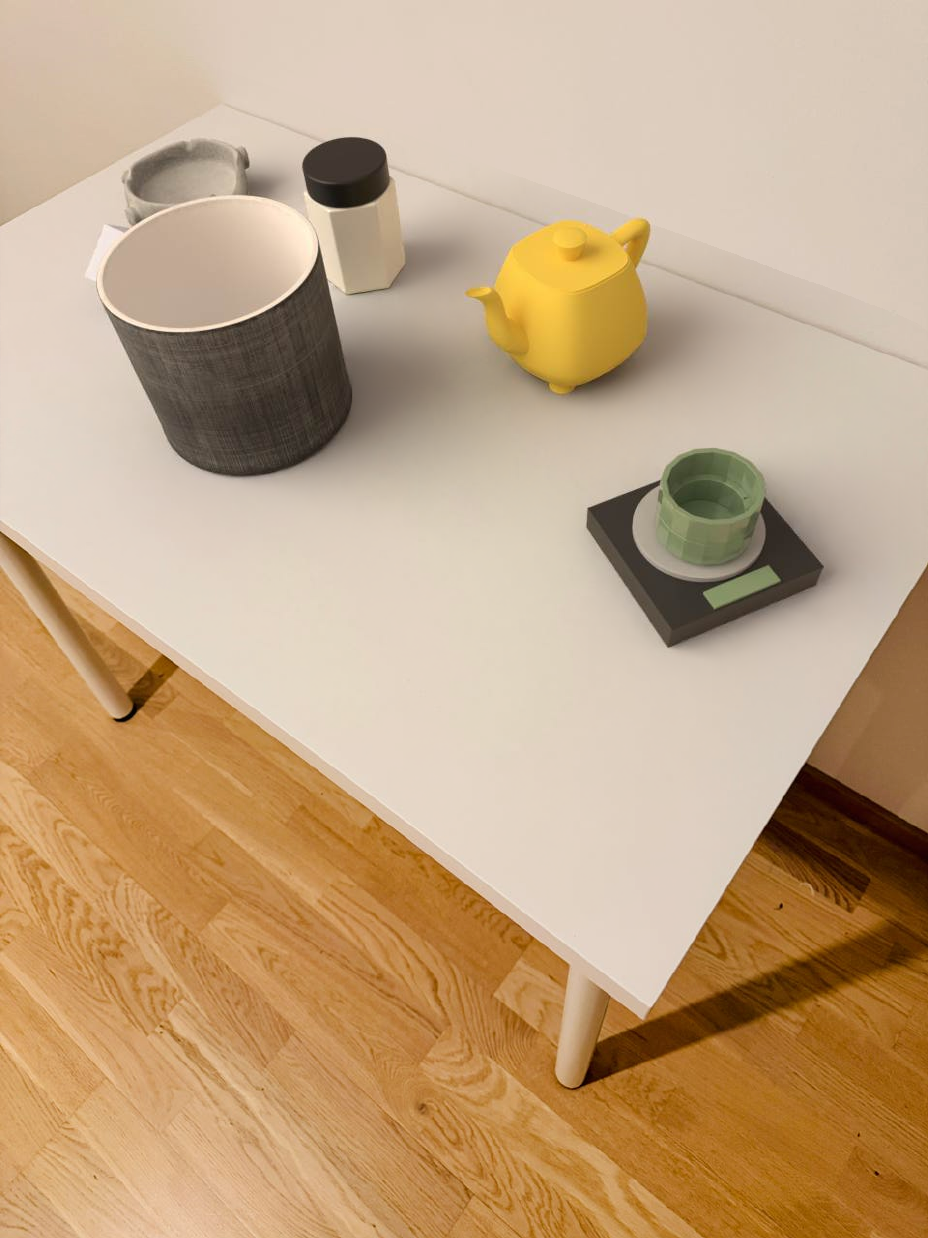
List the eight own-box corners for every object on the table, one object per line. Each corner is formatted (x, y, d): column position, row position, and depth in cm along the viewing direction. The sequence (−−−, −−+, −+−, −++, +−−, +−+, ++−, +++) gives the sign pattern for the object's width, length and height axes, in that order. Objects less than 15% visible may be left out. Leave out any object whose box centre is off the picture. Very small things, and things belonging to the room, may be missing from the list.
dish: (258, 172, 108) (247, 130, 103) (249, 242, 100) (236, 199, 96) (138, 184, 108) (122, 143, 104) (120, 254, 100) (102, 212, 96)
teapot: (434, 367, 86) (419, 251, 76) (594, 280, 92) (600, 161, 82) (521, 445, 80) (518, 330, 69) (687, 346, 85) (707, 226, 75)
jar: (401, 240, 98) (385, 129, 88) (410, 286, 93) (395, 174, 83) (319, 253, 98) (294, 143, 88) (325, 299, 93) (299, 189, 83)
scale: (816, 585, 69) (826, 561, 67) (667, 647, 67) (672, 625, 65) (723, 473, 76) (729, 448, 74) (585, 526, 74) (587, 502, 72)
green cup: (770, 547, 68) (786, 501, 64) (685, 582, 67) (695, 537, 62) (717, 482, 72) (729, 435, 68) (636, 514, 71) (642, 468, 66)
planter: (386, 424, 82) (357, 273, 69) (205, 507, 78) (138, 364, 65) (304, 321, 91) (265, 170, 78) (139, 391, 87) (68, 244, 74)
